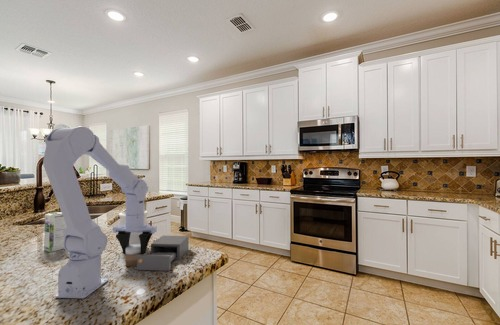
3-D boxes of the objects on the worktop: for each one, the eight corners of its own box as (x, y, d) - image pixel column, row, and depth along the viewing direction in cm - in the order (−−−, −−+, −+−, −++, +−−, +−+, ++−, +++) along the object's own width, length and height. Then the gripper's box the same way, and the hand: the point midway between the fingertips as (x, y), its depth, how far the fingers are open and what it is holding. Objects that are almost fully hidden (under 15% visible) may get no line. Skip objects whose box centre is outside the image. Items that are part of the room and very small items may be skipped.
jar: (135, 255, 87) (135, 215, 88) (112, 253, 89) (112, 214, 90) (152, 246, 98) (153, 210, 98) (131, 244, 100) (131, 209, 100)
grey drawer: (168, 271, 74) (168, 256, 74) (136, 270, 74) (136, 256, 74) (180, 257, 85) (180, 245, 85) (152, 257, 85) (152, 244, 85)
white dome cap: (138, 254, 77) (138, 249, 77) (121, 254, 78) (121, 248, 78) (146, 248, 83) (146, 243, 83) (131, 248, 83) (131, 243, 83)
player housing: (179, 259, 83) (179, 244, 83) (150, 259, 84) (150, 243, 84) (188, 249, 93) (188, 235, 93) (162, 249, 94) (162, 235, 94)
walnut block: (137, 266, 78) (137, 254, 78) (125, 265, 78) (125, 254, 78) (143, 261, 82) (143, 249, 82) (132, 261, 82) (132, 249, 82)
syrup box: (43, 250, 93) (43, 213, 93) (60, 245, 98) (61, 211, 99) (50, 252, 90) (50, 215, 91) (67, 247, 96) (68, 212, 96)
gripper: (160, 211, 84) (160, 249, 84) (121, 211, 85) (121, 248, 85) (151, 216, 77) (150, 257, 77) (108, 215, 78) (108, 256, 78)
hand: (134, 253), depth 80 cm, fingers closed on white dome cap, 6 cm apart
